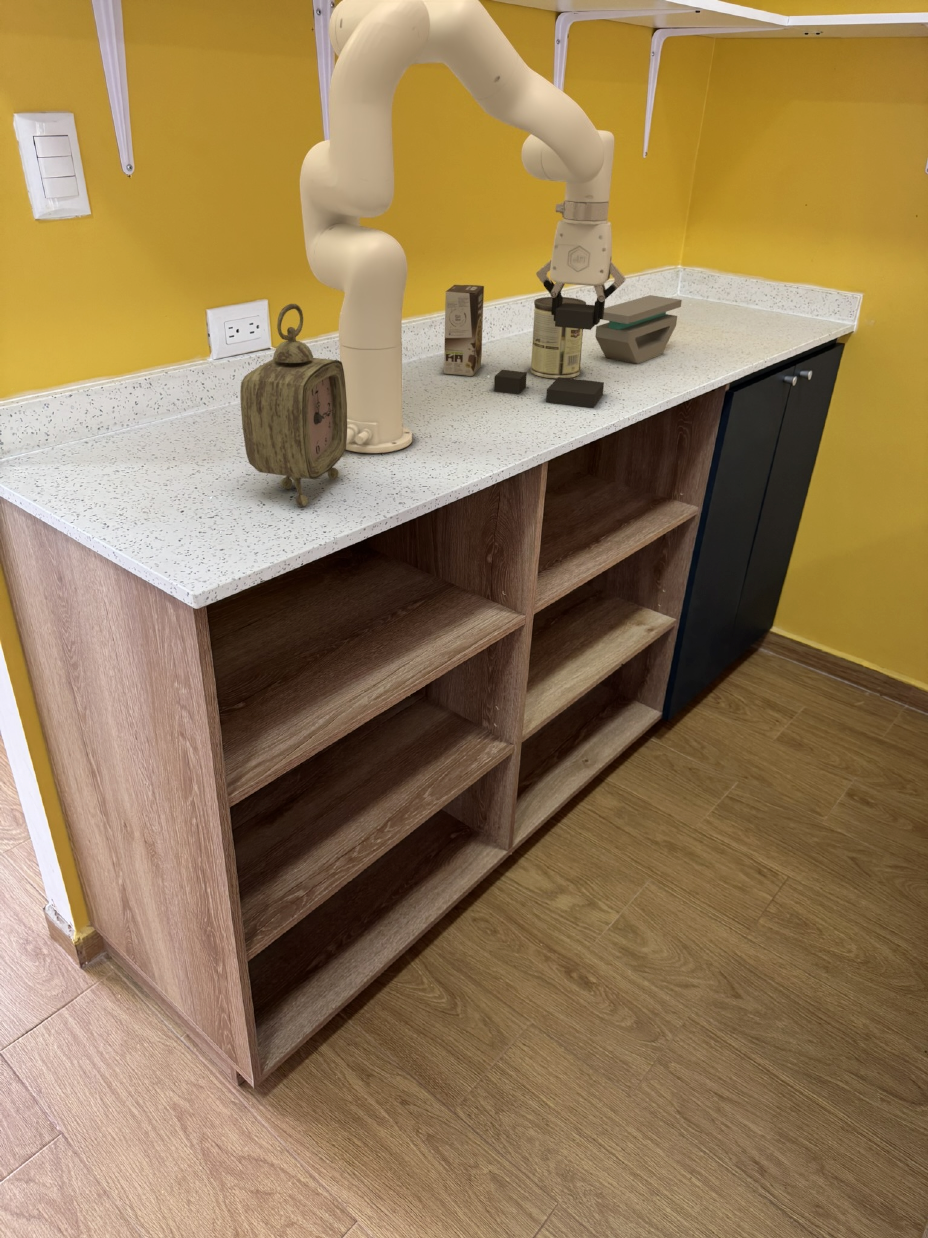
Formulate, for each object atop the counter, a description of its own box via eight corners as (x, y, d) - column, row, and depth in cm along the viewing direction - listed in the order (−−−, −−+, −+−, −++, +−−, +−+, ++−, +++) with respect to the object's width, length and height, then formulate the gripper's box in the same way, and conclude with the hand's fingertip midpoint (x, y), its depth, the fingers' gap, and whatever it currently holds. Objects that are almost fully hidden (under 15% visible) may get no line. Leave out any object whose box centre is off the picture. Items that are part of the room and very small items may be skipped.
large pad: (593, 407, 161) (594, 394, 160) (545, 402, 163) (546, 388, 162) (602, 395, 168) (604, 382, 167) (557, 389, 171) (558, 376, 170)
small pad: (518, 394, 168) (519, 378, 166) (493, 391, 169) (494, 375, 167) (525, 387, 172) (526, 372, 170) (501, 384, 173) (502, 369, 171)
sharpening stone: (644, 343, 207) (650, 294, 201) (674, 349, 203) (681, 299, 197) (590, 363, 189) (595, 310, 184) (622, 369, 185) (628, 316, 180)
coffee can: (540, 363, 188) (544, 294, 181) (586, 369, 184) (592, 299, 177) (522, 374, 180) (526, 302, 173) (570, 381, 176) (576, 308, 169)
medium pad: (590, 329, 156) (592, 312, 154) (554, 326, 157) (555, 308, 156) (597, 322, 161) (599, 305, 159) (563, 319, 163) (564, 302, 161)
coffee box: (474, 376, 178) (476, 292, 169) (443, 374, 179) (444, 290, 170) (482, 365, 185) (485, 284, 177) (452, 363, 186) (454, 282, 178)
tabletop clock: (308, 513, 117) (295, 318, 104) (246, 505, 119) (225, 312, 106) (349, 476, 129) (342, 296, 116) (293, 468, 131) (279, 291, 118)
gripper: (530, 211, 149) (524, 321, 158) (633, 217, 144) (620, 330, 153) (541, 207, 155) (535, 313, 164) (640, 213, 150) (628, 321, 160)
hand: (576, 320), depth 159 cm, fingers closed on medium pad, 6 cm apart
